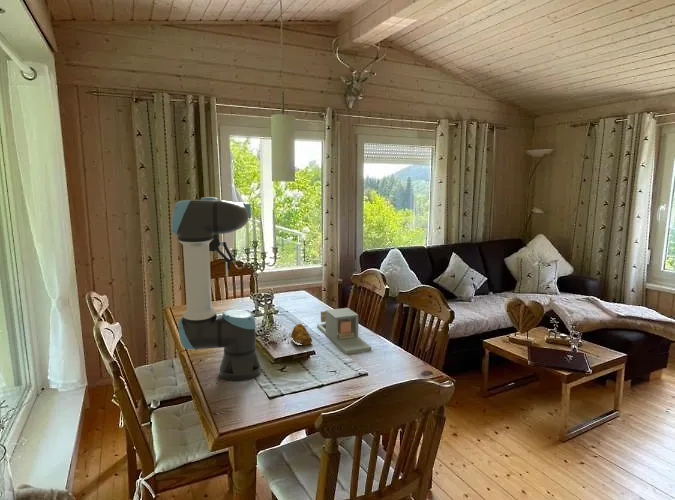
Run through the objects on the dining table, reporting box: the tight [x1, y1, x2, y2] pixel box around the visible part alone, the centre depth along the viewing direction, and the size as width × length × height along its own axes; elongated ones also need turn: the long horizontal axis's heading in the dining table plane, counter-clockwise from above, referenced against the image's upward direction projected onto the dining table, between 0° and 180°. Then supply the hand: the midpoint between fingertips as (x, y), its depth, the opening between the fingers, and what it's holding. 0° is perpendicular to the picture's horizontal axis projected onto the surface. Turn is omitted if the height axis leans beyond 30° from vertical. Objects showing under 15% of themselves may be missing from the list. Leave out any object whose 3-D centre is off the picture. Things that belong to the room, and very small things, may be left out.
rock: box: [290, 323, 313, 346], centre depth 191 cm, size 11×8×10 cm
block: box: [338, 318, 351, 334], centre depth 195 cm, size 6×5×6 cm
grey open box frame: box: [320, 310, 354, 339], centre depth 204 cm, size 26×8×5 cm, turn 22°
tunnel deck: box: [316, 307, 372, 355], centre depth 196 cm, size 36×12×12 cm, turn 22°
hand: (211, 276), depth 197 cm, fingers open, 13 cm apart
